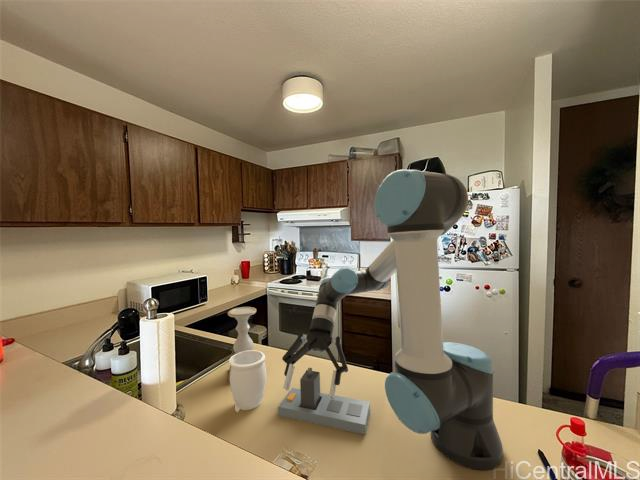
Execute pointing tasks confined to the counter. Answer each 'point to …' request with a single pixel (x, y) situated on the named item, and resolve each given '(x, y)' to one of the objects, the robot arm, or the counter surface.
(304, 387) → the block
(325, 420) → the power strip
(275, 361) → the counter surface
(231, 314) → the candle holder
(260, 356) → the jar
